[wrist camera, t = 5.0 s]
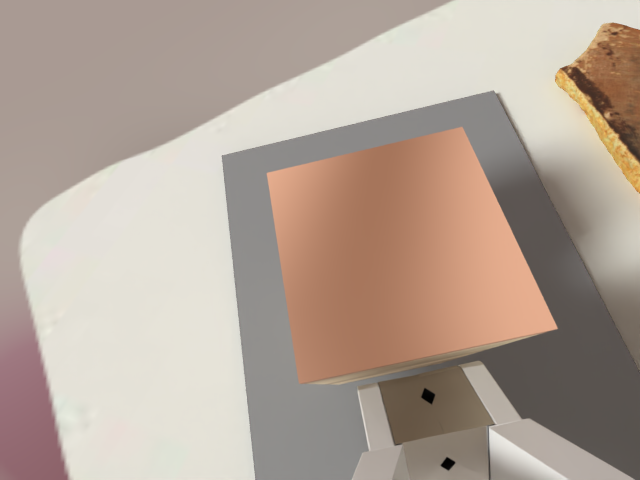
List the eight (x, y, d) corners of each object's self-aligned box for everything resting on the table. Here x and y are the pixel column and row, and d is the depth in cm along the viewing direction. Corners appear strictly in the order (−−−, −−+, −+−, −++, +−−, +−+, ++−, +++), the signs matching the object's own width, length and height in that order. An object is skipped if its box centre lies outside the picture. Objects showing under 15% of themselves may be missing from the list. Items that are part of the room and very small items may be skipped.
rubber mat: (490, 98, 20) (494, 90, 20) (698, 508, 13) (713, 514, 12) (225, 161, 21) (221, 155, 20) (271, 589, 13) (267, 599, 13)
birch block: (409, 268, 17) (462, 126, 8) (439, 363, 15) (557, 328, 6) (320, 287, 17) (266, 173, 8) (339, 384, 15) (299, 383, 6)
